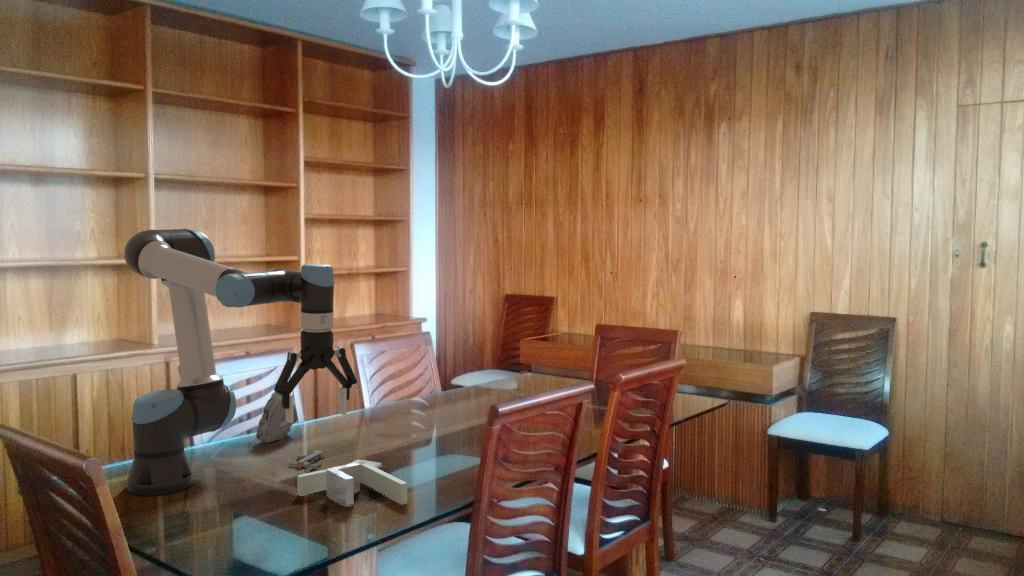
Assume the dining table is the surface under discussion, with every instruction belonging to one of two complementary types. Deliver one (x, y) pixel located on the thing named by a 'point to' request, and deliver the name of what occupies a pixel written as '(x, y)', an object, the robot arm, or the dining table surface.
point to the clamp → (313, 457)
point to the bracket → (343, 482)
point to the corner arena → (368, 476)
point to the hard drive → (374, 464)
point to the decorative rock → (274, 420)
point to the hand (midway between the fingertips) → (316, 417)
